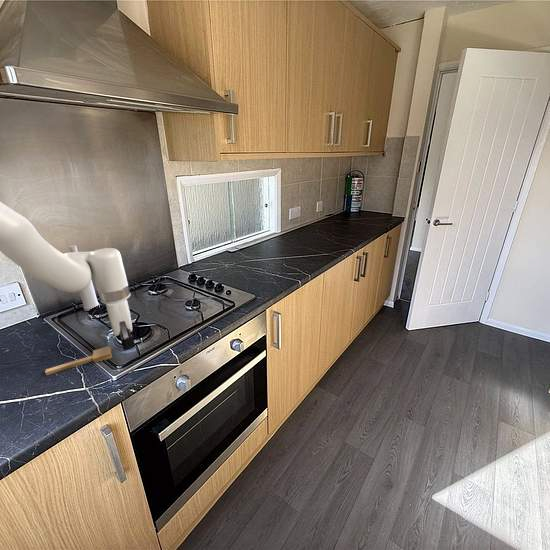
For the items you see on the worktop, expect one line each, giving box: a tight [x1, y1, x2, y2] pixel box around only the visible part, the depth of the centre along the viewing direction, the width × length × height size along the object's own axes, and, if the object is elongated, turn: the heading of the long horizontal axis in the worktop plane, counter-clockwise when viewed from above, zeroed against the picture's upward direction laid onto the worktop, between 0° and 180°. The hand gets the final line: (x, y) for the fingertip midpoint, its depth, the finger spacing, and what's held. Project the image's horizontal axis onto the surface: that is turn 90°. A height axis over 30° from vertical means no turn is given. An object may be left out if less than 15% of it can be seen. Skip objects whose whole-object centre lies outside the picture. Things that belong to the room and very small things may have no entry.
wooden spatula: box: [44, 345, 113, 376], centre depth 82 cm, size 16×4×2 cm, turn 120°
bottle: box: [68, 244, 100, 312], centre depth 106 cm, size 5×5×25 cm
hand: (129, 347), depth 88 cm, fingers closed
